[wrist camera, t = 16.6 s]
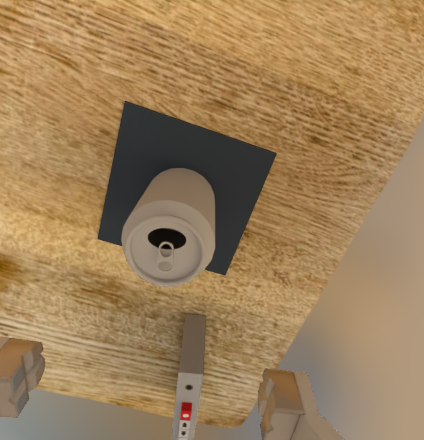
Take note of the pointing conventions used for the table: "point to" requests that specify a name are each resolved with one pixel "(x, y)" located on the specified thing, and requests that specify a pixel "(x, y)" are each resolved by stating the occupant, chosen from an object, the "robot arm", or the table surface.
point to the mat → (189, 159)
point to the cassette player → (189, 378)
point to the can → (171, 229)
